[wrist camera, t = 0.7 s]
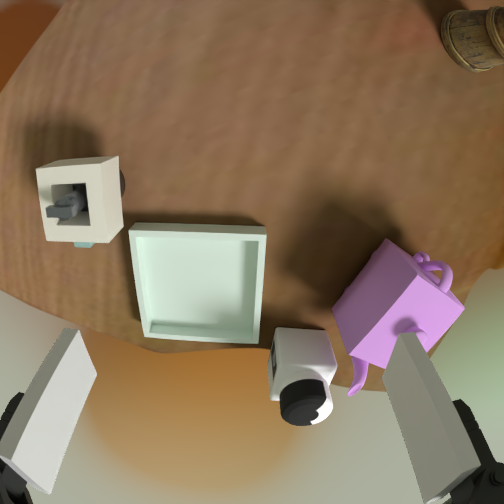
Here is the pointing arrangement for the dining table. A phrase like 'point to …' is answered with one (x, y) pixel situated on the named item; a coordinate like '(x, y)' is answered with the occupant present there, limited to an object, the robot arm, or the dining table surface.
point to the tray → (199, 280)
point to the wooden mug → (475, 38)
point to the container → (301, 374)
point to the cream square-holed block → (98, 194)
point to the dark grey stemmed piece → (75, 201)
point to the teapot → (393, 307)
